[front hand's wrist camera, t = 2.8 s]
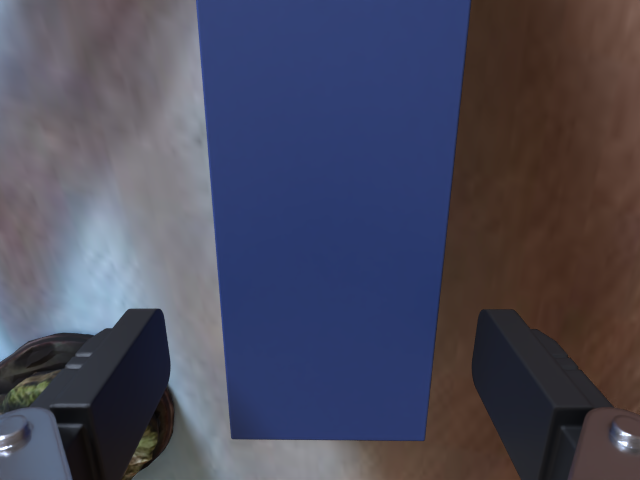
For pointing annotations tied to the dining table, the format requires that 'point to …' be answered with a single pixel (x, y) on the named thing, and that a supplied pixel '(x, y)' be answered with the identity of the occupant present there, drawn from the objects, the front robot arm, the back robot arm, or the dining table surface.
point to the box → (331, 207)
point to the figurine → (42, 367)
